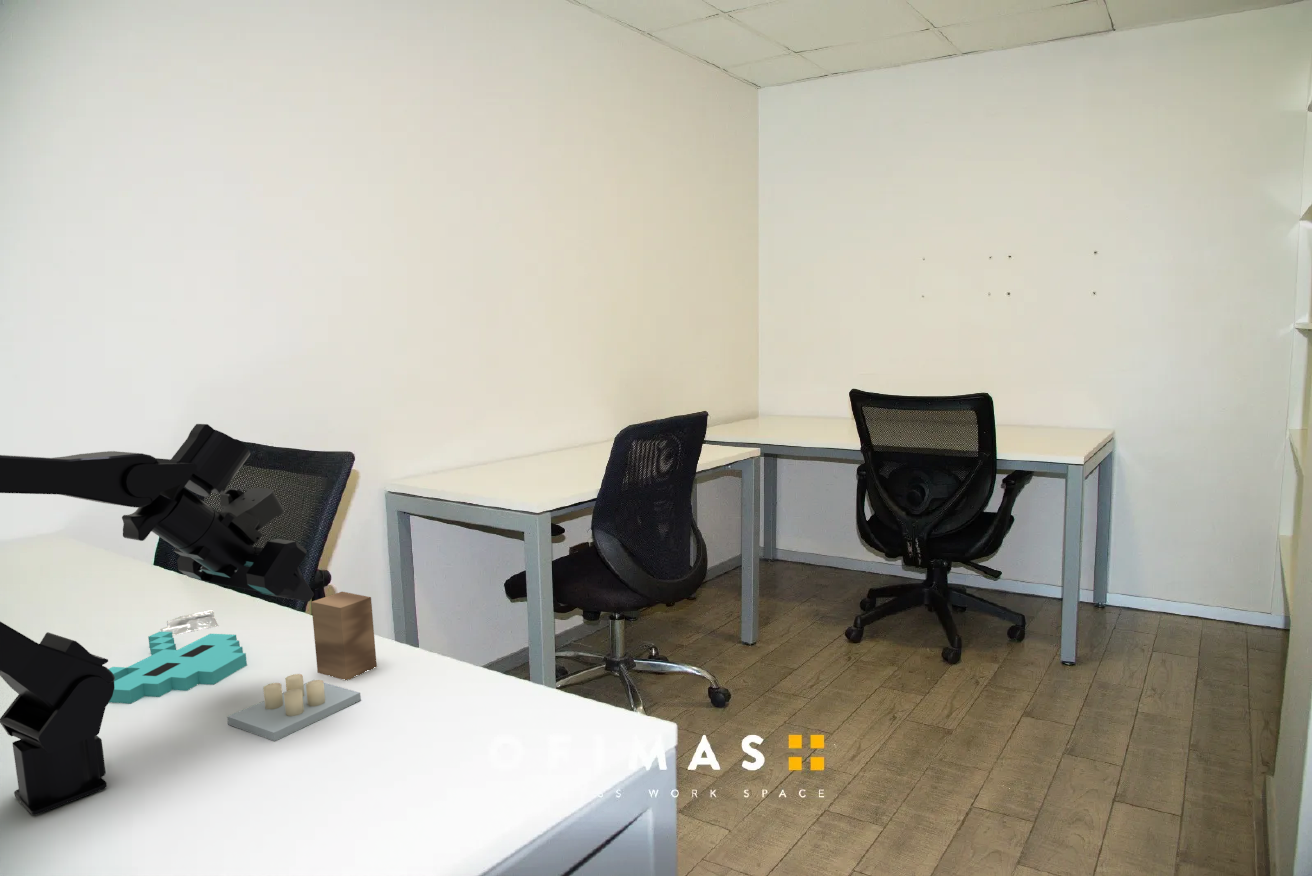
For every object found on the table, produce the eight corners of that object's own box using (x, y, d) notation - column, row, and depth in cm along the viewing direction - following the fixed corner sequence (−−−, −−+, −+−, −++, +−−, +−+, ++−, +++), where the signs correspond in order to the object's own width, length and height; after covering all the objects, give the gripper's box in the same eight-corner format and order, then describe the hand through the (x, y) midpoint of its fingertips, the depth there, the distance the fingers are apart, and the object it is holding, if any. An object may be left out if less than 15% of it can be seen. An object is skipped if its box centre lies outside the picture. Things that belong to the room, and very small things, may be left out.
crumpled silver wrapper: (213, 618, 143) (212, 609, 143) (219, 629, 137) (218, 620, 137) (159, 628, 139) (158, 620, 139) (162, 640, 133) (161, 631, 133)
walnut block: (346, 680, 113) (340, 608, 112) (317, 672, 117) (311, 601, 115) (376, 667, 118) (371, 597, 116) (347, 660, 121) (342, 591, 120)
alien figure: (44, 701, 111) (176, 709, 107) (41, 685, 111) (174, 693, 107) (161, 645, 131) (277, 650, 127) (159, 631, 131) (275, 636, 126)
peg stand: (274, 741, 97) (271, 711, 96) (227, 724, 102) (225, 696, 101) (360, 700, 107) (358, 673, 107) (314, 686, 112) (312, 661, 111)
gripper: (284, 474, 97) (369, 546, 108) (191, 466, 107) (278, 532, 118) (225, 559, 92) (322, 625, 102) (133, 542, 101) (230, 604, 112)
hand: (287, 593), depth 109 cm, fingers open, 9 cm apart
